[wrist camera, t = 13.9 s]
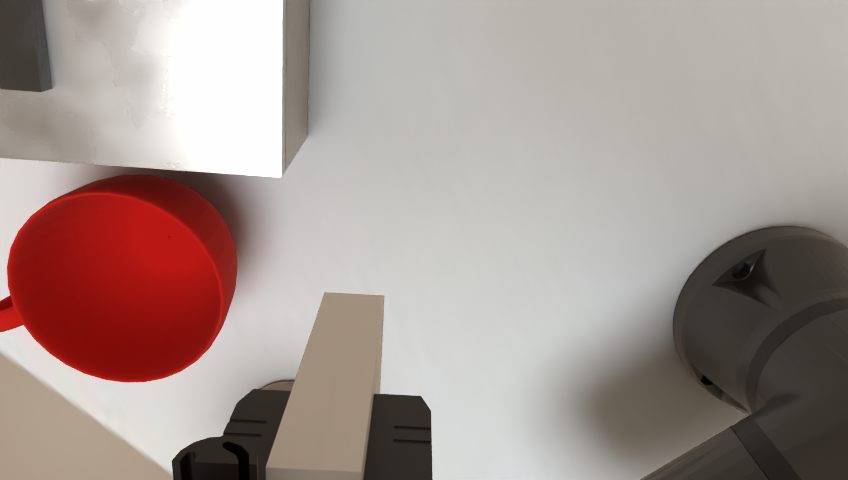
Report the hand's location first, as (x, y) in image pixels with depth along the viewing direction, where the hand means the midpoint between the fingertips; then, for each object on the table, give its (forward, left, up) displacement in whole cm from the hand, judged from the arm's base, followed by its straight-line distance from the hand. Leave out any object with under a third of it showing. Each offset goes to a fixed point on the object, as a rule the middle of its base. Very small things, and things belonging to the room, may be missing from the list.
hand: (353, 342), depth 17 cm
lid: (+14, -5, -22) cm, 27 cm away
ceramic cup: (+17, +11, -32) cm, 38 cm away
